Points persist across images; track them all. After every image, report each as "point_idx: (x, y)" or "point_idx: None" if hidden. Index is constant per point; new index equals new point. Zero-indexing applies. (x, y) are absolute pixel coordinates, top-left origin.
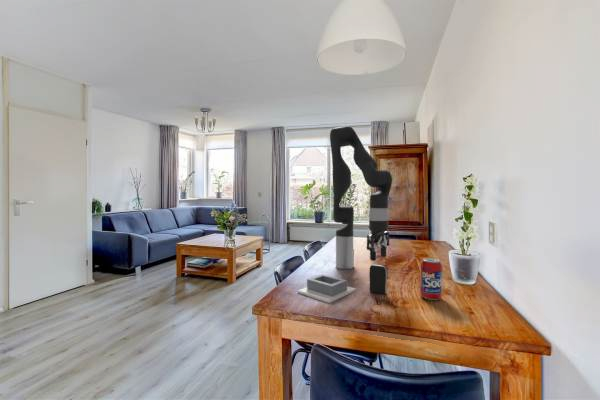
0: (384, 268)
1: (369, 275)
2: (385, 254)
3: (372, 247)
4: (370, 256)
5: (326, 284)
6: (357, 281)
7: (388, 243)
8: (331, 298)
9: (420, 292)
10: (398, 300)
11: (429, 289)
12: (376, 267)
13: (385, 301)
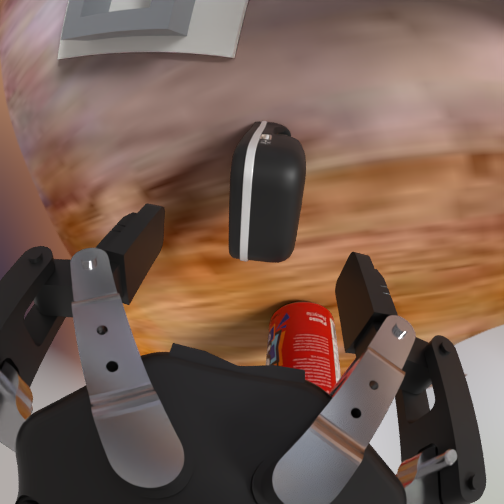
0: (233, 257)
1: (246, 133)
2: (338, 304)
3: (38, 321)
4: (117, 227)
5: (69, 7)
6: (382, 33)
7: (405, 397)
8: (73, 51)
9: (290, 310)
10: (222, 244)
11: (267, 346)
12: (229, 205)
13: (184, 208)
